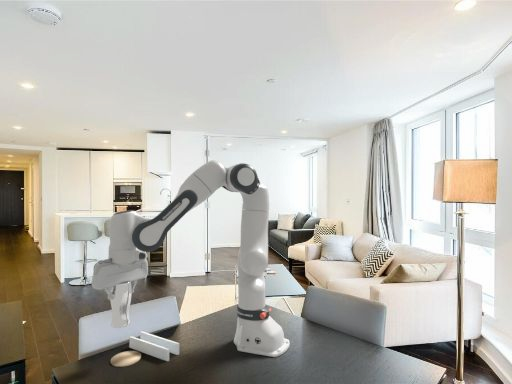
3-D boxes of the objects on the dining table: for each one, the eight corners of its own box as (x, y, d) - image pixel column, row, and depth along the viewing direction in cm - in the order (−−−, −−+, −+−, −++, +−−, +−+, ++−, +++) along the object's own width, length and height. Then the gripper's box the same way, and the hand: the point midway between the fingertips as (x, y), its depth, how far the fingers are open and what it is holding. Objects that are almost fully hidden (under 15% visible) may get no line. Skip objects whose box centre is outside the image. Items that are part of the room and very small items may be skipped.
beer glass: (123, 329, 101) (123, 284, 101) (105, 327, 102) (105, 283, 103) (135, 321, 108) (135, 279, 108) (118, 319, 109) (118, 278, 109)
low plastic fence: (179, 354, 110) (179, 343, 110) (167, 361, 105) (167, 349, 105) (141, 341, 120) (142, 331, 120) (129, 347, 115) (129, 337, 115)
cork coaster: (147, 356, 109) (147, 355, 109) (123, 369, 100) (123, 368, 100) (128, 349, 113) (128, 348, 113) (104, 361, 105) (104, 360, 105)
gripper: (100, 262, 95) (98, 306, 95) (151, 253, 113) (150, 290, 112) (88, 260, 98) (86, 303, 98) (139, 251, 116) (138, 287, 115)
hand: (121, 296), depth 105 cm, fingers closed on beer glass, 6 cm apart
